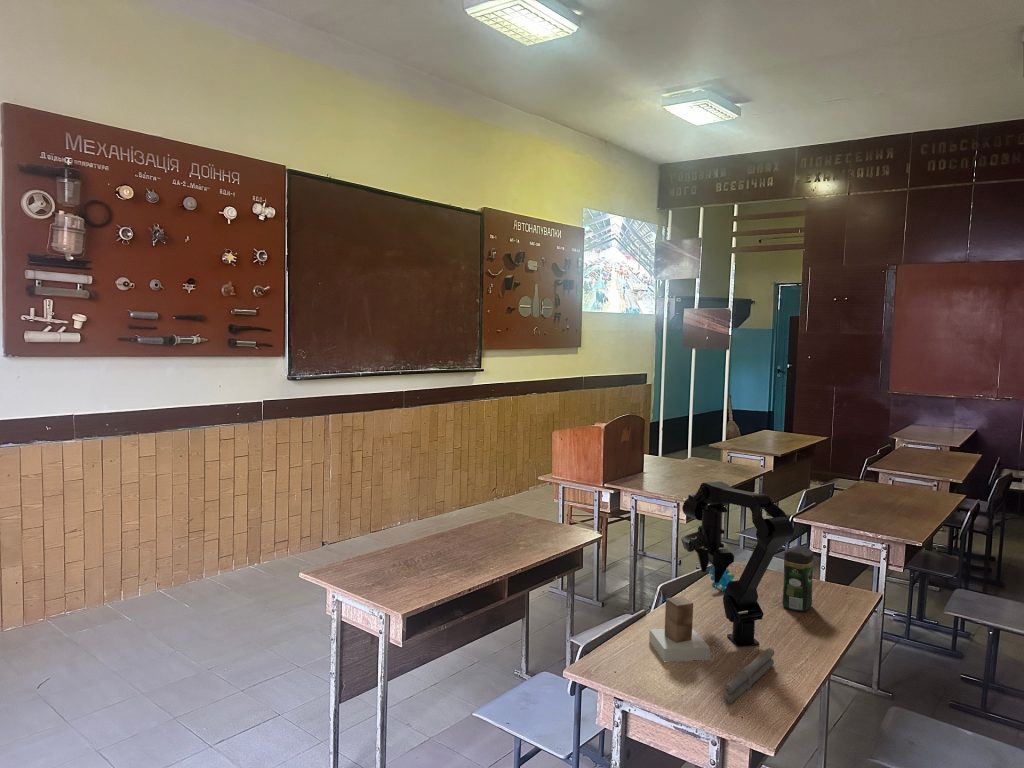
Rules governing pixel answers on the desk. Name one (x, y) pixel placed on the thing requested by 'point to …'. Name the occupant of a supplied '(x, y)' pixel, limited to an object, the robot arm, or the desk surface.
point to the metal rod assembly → (748, 675)
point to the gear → (722, 579)
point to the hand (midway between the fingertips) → (709, 577)
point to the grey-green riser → (679, 647)
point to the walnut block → (678, 619)
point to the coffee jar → (798, 578)
